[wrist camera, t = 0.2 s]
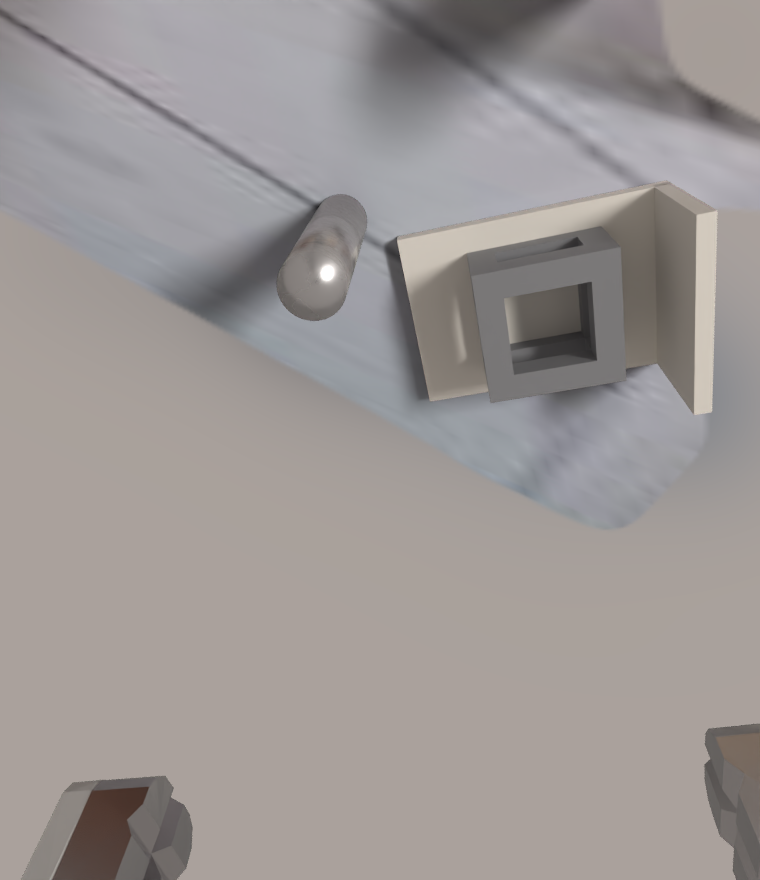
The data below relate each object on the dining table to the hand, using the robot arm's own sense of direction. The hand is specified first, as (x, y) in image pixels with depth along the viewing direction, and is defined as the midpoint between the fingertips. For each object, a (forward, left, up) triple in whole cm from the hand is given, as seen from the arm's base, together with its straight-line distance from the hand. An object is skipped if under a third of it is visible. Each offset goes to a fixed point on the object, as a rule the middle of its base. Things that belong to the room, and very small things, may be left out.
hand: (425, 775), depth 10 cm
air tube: (+1, -7, -47) cm, 47 cm away
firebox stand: (+10, +7, -47) cm, 49 cm away
